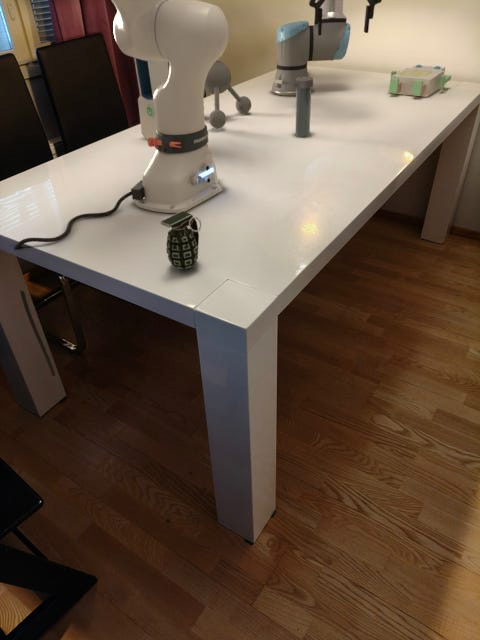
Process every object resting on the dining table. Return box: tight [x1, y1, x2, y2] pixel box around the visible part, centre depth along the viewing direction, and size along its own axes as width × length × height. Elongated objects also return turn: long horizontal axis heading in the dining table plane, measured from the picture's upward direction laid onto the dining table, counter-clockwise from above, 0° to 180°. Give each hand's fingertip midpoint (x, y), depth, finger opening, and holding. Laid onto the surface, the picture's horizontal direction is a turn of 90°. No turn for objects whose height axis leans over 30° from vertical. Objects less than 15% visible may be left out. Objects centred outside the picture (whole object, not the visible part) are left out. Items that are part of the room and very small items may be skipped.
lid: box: [295, 76, 314, 89], centre depth 140 cm, size 5×5×2 cm
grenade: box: [159, 211, 202, 271], centre depth 88 cm, size 7×6×10 cm
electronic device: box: [133, 57, 170, 140], centre depth 143 cm, size 12×8×30 cm, turn 47°
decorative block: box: [388, 64, 452, 98], centre depth 182 cm, size 26×6×20 cm
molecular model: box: [203, 60, 252, 129], centre depth 157 cm, size 24×22×30 cm
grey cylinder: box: [295, 87, 312, 138], centre depth 144 cm, size 4×4×15 cm
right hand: (342, 33), depth 143 cm, fingers open, 13 cm apart
